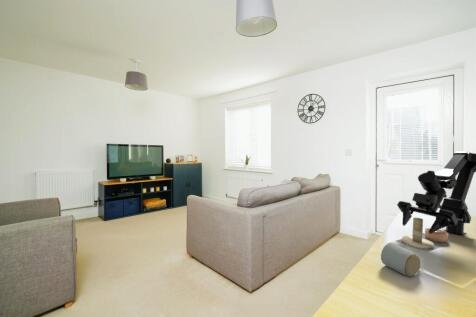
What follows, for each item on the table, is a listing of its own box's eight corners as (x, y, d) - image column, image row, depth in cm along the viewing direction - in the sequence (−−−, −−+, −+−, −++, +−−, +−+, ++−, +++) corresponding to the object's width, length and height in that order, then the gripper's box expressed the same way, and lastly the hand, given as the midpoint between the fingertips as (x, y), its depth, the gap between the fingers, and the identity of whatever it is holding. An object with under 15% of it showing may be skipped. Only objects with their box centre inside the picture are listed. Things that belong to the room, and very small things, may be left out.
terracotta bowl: (430, 235, 98) (430, 227, 97) (451, 241, 91) (451, 232, 91) (421, 238, 94) (421, 229, 94) (442, 245, 88) (443, 235, 88)
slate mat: (421, 233, 101) (421, 232, 101) (453, 243, 91) (453, 241, 91) (395, 242, 92) (395, 240, 92) (427, 253, 82) (427, 252, 82)
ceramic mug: (406, 280, 66) (407, 255, 65) (379, 266, 73) (380, 243, 73) (428, 273, 70) (429, 249, 69) (400, 260, 77) (401, 239, 77)
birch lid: (409, 236, 96) (410, 213, 96) (438, 245, 87) (439, 220, 87) (396, 241, 92) (397, 217, 91) (426, 251, 83) (427, 224, 82)
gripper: (400, 182, 98) (383, 210, 94) (455, 190, 81) (437, 224, 77) (410, 198, 102) (394, 225, 98) (465, 209, 85) (448, 242, 81)
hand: (415, 228), depth 89 cm, fingers open, 9 cm apart
